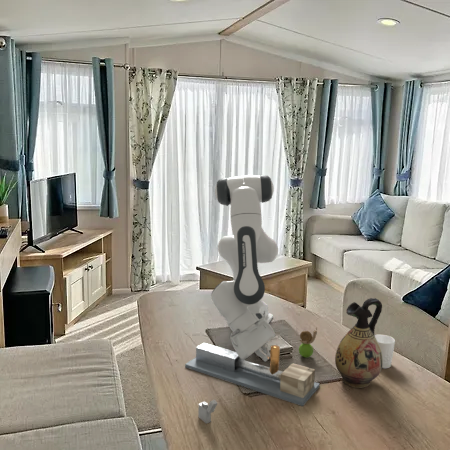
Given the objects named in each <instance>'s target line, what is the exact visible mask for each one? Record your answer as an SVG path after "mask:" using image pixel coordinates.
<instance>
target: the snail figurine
mask: <svg viewBox="0 0 450 450" xmlns="http://www.w3.org/2000/svg"><path fill="white" fill-rule="evenodd" d="M317 333H318V327H315V330H314V331H313V332H311V331H308V330H303V331H301V332H300V334H299V338H300V339H299V342H300V343H301V344H300V345H299V347H298V353H299V355H300V356H301V357H302V358H306V359H308V358H311V356H313V354H314V347H313V346H312V345H311V344H312V343H313V342H314V341H315V340H316V337H317Z"/></svg>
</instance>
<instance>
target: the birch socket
mask: <svg viewBox="0 0 450 450" xmlns="http://www.w3.org/2000/svg"><path fill="white" fill-rule="evenodd" d="M315 373H316V369H315V368H312V367H308V366H304V365H300V364H296V363H294V362H293V363H291V364H290V365H289V366H288V367H287V368H285V369H284V371H283V372H282V373H281V381H280V391H283V392H286V393H289V394H292V395H295V396H298V397H301V398H304V397H305V395H306V394H307V393H308V392H309V391H310V390H311V389H312V388H313V386H314V382H315V376H316V375H315Z"/></svg>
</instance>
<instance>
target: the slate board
mask: <svg viewBox="0 0 450 450" xmlns="http://www.w3.org/2000/svg"><path fill="white" fill-rule="evenodd" d="M184 367H185V368H186V369H188V370H189V369H190V370H191V371H195V372H199V373H202V374H204V375H207V376H209V377H214V378H217V379H220V380H223V381H225V382H228V383H232V384H234V385H236V386H240V385H241V387H243V386H244V388H246V387H247V389H249V388H250V390H253V391H255V392H258V393H261V394H264V395H268V396H271V397H274V398H276V399H280V400H283V401H286V402H289V403H292V404H295V405H298V406H301V407H304V405H305V404H306V403H307V402H308V401H309V400H310V399H311V397H312V396H313V395H314V394H315V392H317V391H318V389H319V388H320V382H316V381H314V386H313V388H312V389H311V390H310V391H309V392H308V393H307V394H306V395H305V397H304V398H301V397H298V396H295V395H292V394H289V393H286V392H283V391H280V381H278V380H275V379H272V378H269V377H265V376H262V375H259V374H256V373H253V372H249V371H246V370H243V369H240V368H239V369H238V370H236V371H235V372H231V371H228V370H225V369H222V368H218V367H215V366H212V365H209V364H206V363H203V362H200V361H196V356H195V357H194V358H192V359H191V360H189V361H188V362H186V363H185V364H184Z"/></svg>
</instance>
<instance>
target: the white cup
mask: <svg viewBox="0 0 450 450" xmlns="http://www.w3.org/2000/svg"><path fill="white" fill-rule="evenodd" d="M374 336H375V338H376V340H377V342H378V344H379V346H380V349H381V352H382V359H383V364H382V369H388V368H389V369H390V367H392V361H393V356H394V351H395V350H394V349H395V343H396V340H395V338H394V337H392V336H391V335H386V334H382V333H381V334H380V333H379V334H374Z"/></svg>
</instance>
